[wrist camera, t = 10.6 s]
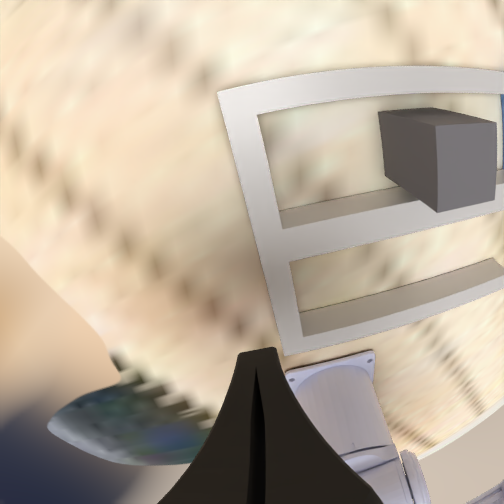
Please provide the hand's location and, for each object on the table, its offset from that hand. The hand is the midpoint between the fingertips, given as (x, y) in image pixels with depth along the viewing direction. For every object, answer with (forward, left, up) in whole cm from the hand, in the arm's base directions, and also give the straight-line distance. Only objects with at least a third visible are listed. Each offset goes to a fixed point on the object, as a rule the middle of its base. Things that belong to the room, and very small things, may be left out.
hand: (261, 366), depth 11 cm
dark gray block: (+5, -11, -10) cm, 15 cm away
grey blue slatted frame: (+1, -11, -9) cm, 15 cm away
